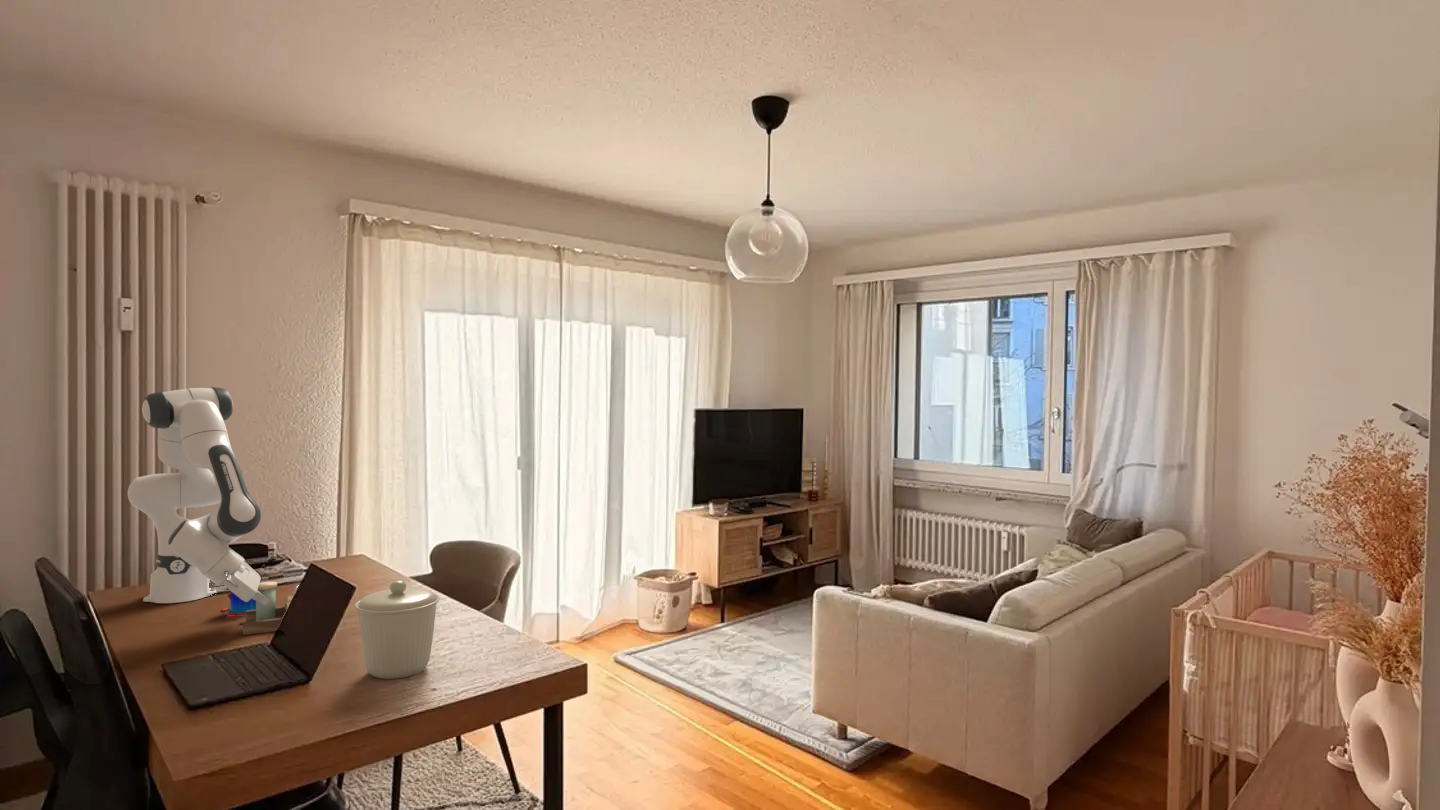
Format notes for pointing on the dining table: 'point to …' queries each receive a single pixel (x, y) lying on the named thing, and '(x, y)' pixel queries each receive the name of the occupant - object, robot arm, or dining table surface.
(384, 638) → the canister
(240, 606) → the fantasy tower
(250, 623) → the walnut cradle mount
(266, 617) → the grey-green capped cylinder
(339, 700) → the dining table surface
